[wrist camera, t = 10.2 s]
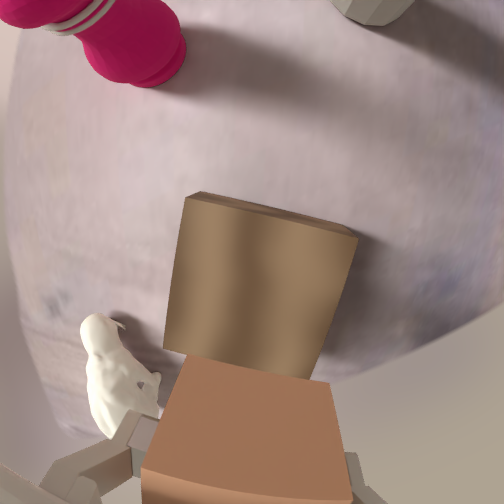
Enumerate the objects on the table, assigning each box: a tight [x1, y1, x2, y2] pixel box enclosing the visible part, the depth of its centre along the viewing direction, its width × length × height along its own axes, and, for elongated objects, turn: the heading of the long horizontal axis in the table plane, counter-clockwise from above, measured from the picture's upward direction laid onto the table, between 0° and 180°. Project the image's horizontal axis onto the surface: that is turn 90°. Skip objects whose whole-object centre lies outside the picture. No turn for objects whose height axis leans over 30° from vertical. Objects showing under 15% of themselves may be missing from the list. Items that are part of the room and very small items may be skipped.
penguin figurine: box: [80, 313, 161, 439], centre depth 27 cm, size 6×8×12 cm
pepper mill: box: [0, 0, 186, 88], centre depth 13 cm, size 7×7×20 cm
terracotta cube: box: [141, 354, 353, 504], centre depth 9 cm, size 5×5×5 cm
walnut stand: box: [163, 191, 359, 380], centre depth 25 cm, size 12×12×5 cm
